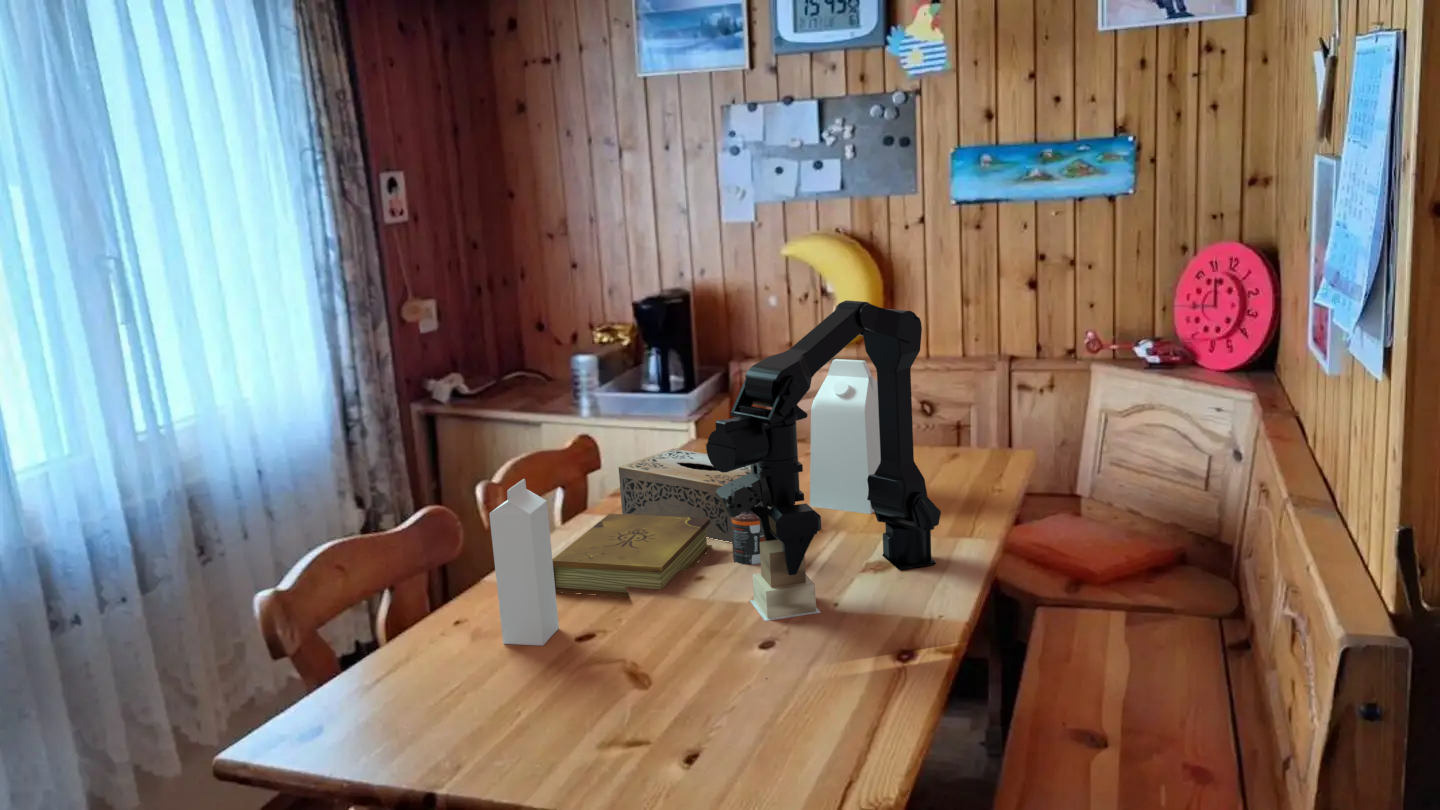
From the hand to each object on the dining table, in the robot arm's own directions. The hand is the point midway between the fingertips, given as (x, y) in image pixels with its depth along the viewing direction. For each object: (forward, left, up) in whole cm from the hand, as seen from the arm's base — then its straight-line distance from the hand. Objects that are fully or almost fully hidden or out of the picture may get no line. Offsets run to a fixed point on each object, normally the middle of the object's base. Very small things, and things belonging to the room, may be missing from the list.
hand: (782, 563), depth 169 cm
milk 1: (+35, -6, -8) cm, 36 cm away
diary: (+17, -27, -8) cm, 33 cm away
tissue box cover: (+1, -47, -8) cm, 48 cm away
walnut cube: (0, 0, -2) cm, 2 cm away
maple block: (0, 0, -6) cm, 6 cm away
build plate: (0, 0, -8) cm, 8 cm away
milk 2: (-27, -46, -8) cm, 54 cm away
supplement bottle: (-1, -21, -8) cm, 22 cm away
